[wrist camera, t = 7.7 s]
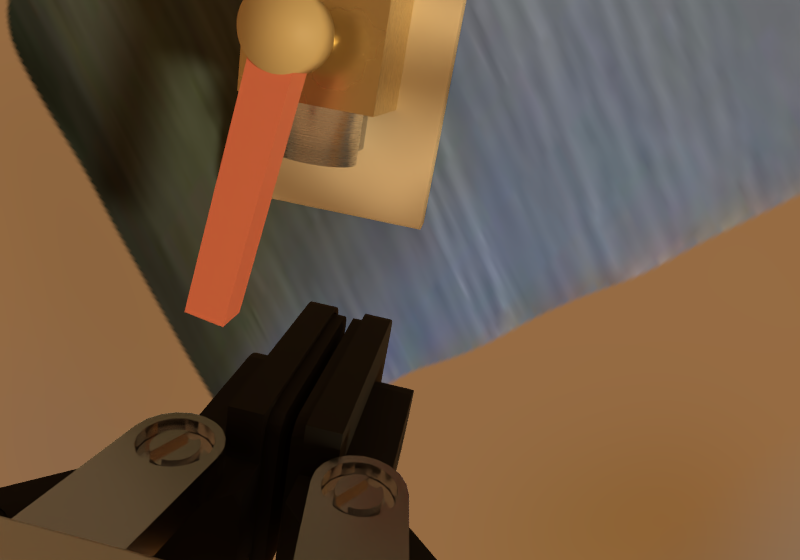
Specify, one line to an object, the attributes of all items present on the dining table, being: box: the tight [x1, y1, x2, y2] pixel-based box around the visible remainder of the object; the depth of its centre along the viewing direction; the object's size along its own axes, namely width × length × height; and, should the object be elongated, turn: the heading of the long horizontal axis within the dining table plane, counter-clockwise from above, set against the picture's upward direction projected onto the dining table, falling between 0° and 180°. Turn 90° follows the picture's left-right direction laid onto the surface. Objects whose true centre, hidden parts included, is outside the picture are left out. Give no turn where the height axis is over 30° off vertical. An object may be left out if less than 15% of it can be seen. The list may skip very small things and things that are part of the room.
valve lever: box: [185, 0, 335, 327], centre depth 22 cm, size 12×3×2 cm, turn 160°
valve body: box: [237, 0, 414, 168], centre depth 25 cm, size 10×6×7 cm, turn 170°
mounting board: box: [272, 0, 466, 229], centre depth 29 cm, size 16×10×2 cm, turn 170°
